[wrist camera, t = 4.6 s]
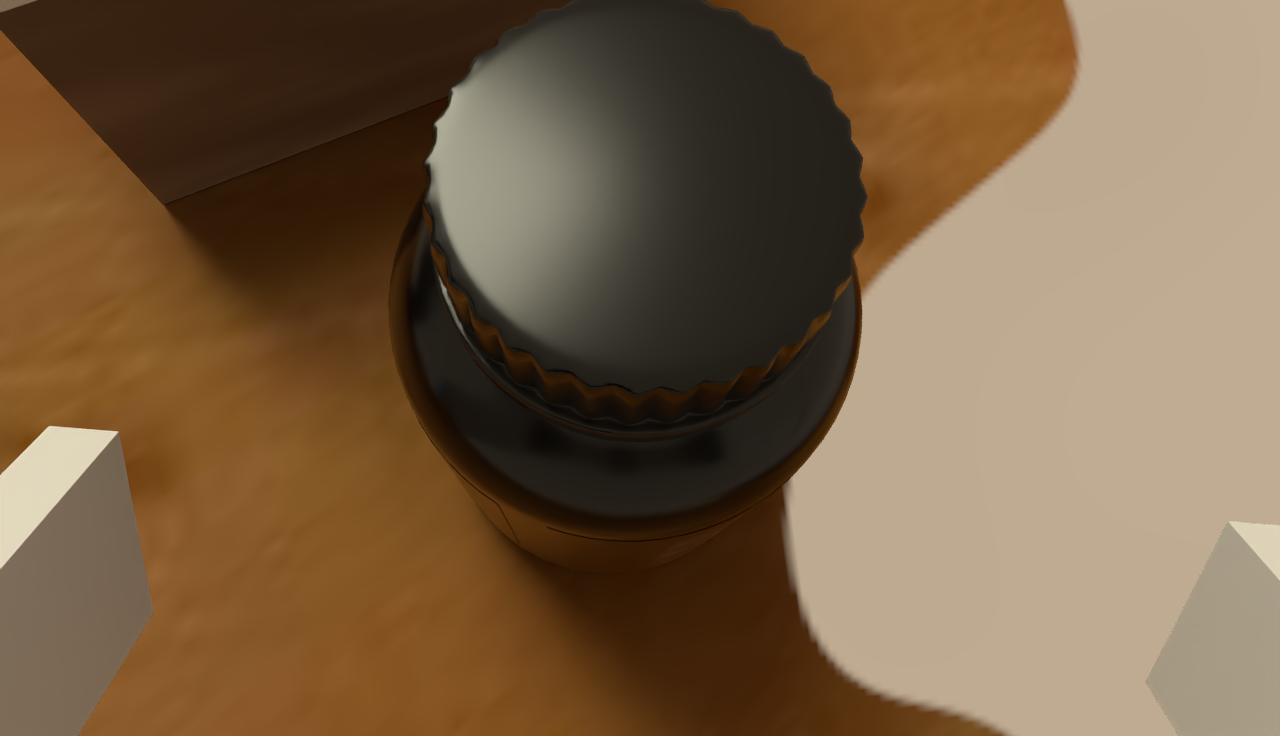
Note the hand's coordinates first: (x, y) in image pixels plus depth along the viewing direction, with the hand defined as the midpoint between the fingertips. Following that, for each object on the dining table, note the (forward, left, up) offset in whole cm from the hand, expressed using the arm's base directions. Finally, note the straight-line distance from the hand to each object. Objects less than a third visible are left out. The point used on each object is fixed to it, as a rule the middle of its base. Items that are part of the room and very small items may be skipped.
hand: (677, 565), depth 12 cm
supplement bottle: (-4, +1, -9) cm, 10 cm away
